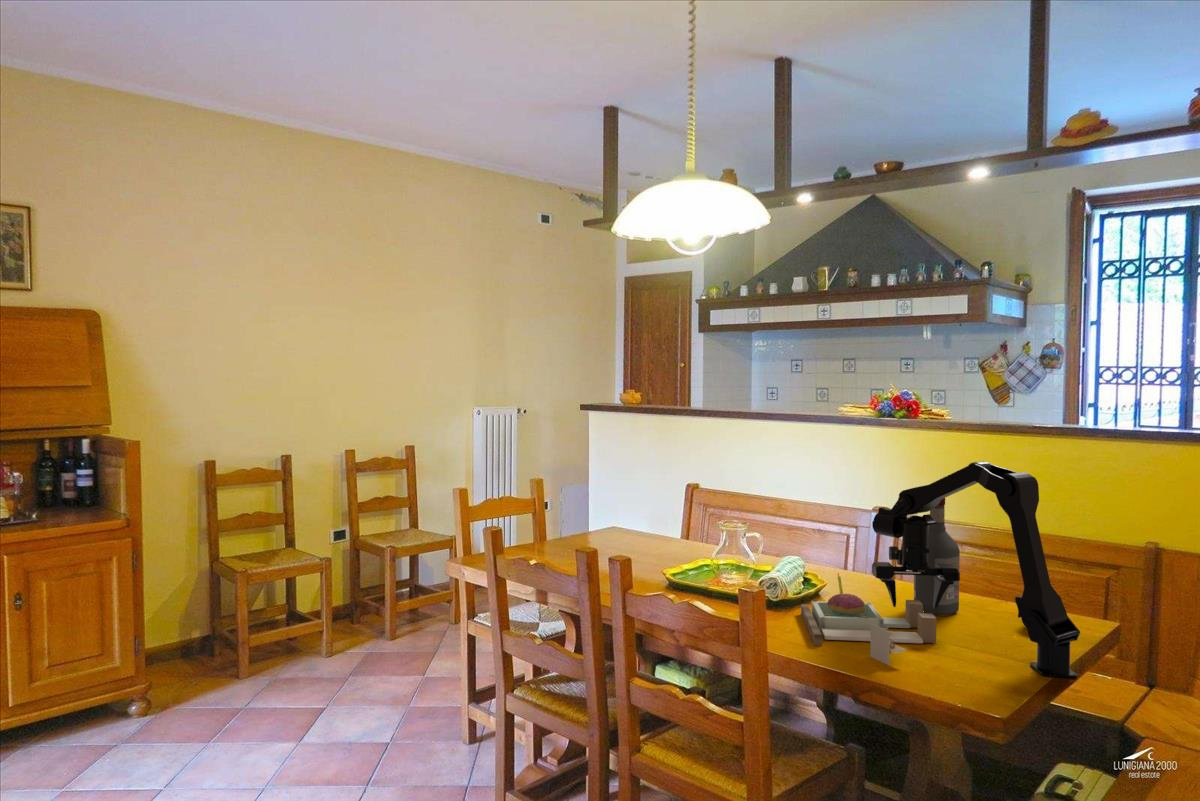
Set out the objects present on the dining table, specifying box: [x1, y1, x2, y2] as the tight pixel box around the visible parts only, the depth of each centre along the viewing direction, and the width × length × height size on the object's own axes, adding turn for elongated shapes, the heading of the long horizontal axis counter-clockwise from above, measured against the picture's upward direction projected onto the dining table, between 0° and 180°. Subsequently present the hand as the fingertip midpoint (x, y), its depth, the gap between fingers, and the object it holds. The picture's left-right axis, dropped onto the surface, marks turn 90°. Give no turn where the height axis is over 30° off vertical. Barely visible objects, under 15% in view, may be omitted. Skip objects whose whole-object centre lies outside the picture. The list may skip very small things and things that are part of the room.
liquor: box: [913, 497, 961, 617], centre depth 197 cm, size 9×9×30 cm
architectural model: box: [869, 624, 907, 666], centre depth 162 cm, size 3×7×7 cm, turn 21°
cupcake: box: [827, 573, 865, 617], centre depth 186 cm, size 9×8×12 cm
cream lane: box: [821, 612, 937, 644], centre depth 175 cm, size 5×24×6 cm, turn 83°
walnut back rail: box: [800, 603, 823, 647], centre depth 182 cm, size 23×2×2 cm, turn 173°
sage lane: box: [811, 599, 924, 631], centre depth 186 cm, size 13×24×6 cm, turn 83°
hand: (914, 607), depth 184 cm, fingers open, 9 cm apart
